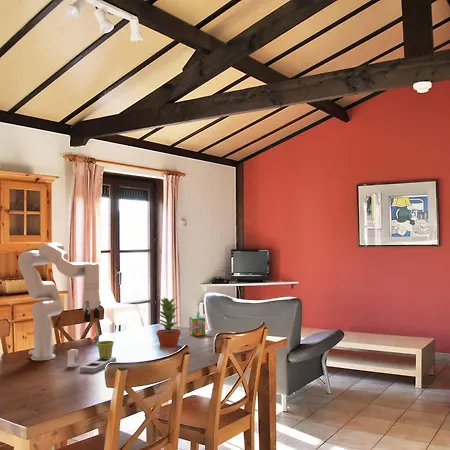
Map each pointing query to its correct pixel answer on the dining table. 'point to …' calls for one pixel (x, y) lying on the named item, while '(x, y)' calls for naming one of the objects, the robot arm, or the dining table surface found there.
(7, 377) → the dining table surface
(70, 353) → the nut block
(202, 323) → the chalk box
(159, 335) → the potted plant
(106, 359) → the grey slotted tray
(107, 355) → the plant pot
